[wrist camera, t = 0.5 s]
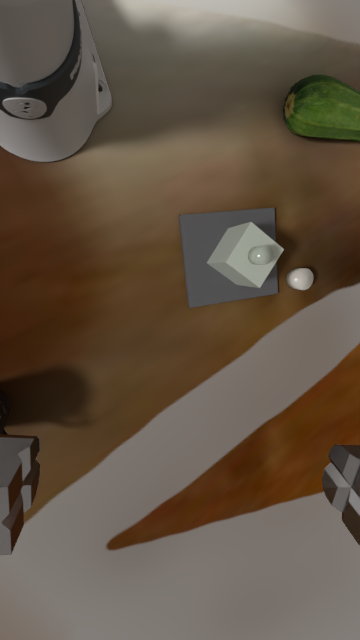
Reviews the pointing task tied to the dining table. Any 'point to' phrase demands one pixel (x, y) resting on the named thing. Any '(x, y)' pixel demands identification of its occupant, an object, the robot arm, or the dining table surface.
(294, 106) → the vegetable
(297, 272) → the glossy white pebble
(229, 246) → the square capped bottle
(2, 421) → the coffee mug
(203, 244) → the mat
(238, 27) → the dining table surface
